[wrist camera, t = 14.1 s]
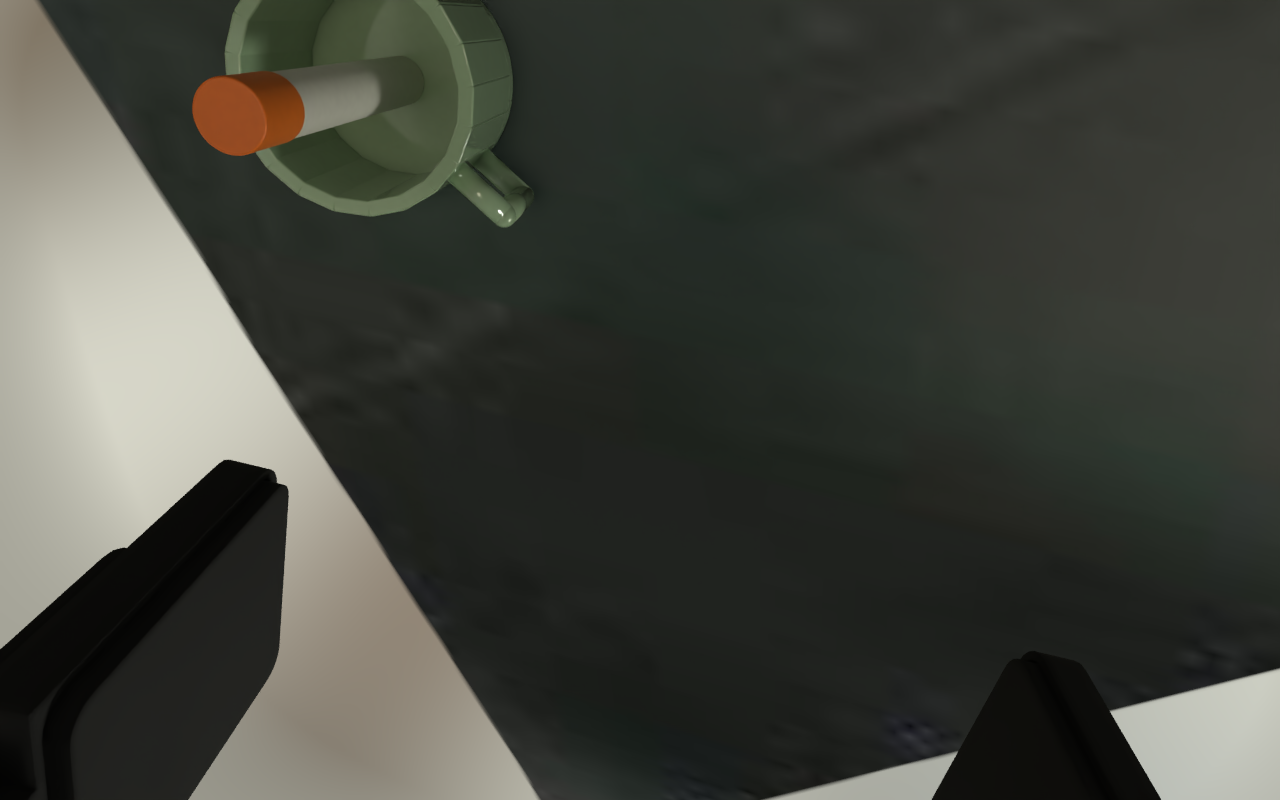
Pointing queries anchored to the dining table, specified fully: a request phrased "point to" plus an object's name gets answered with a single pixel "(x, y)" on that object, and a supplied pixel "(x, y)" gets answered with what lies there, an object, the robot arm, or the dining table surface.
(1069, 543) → the dining table surface
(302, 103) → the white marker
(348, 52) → the mug
